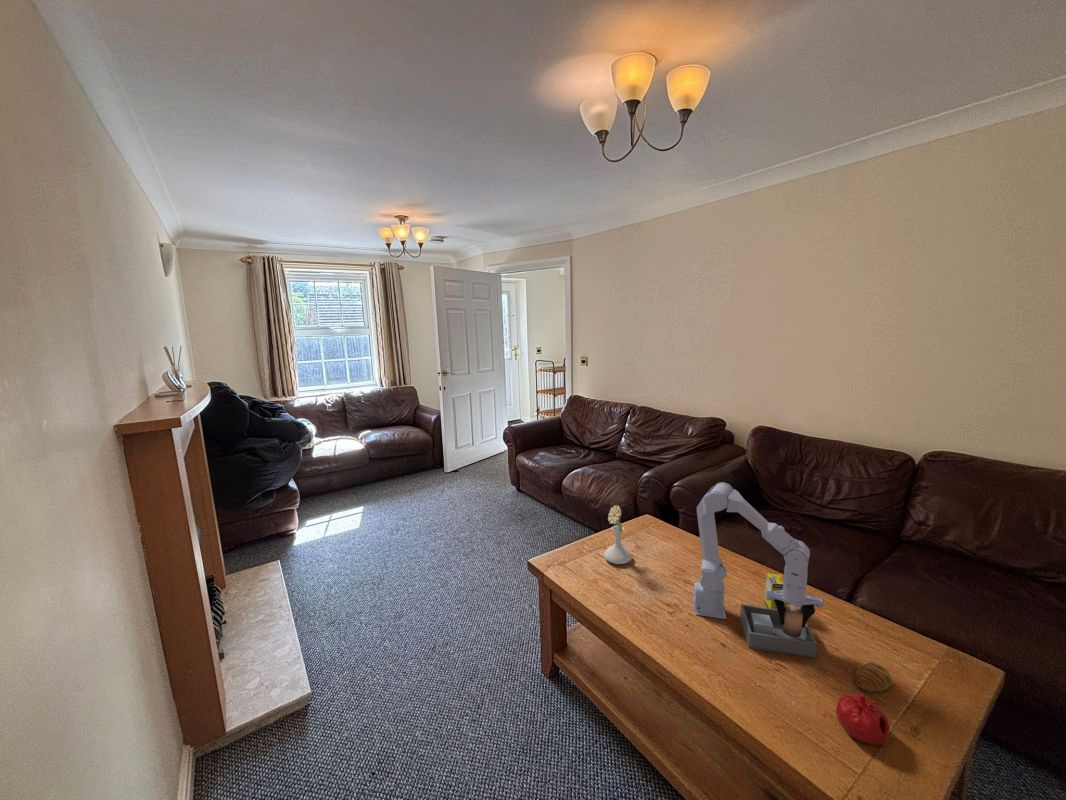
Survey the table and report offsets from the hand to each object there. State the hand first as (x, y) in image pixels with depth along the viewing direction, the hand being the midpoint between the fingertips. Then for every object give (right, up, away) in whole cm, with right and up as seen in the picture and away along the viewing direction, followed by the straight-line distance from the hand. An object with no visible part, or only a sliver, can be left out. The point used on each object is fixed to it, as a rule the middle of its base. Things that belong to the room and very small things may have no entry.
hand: (791, 623), depth 123 cm
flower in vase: (-43, +1, +46) cm, 63 cm away
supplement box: (+4, -3, +15) cm, 16 cm away
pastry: (+13, -8, -14) cm, 21 cm away
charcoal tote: (-4, -5, +2) cm, 7 cm away
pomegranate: (-1, -11, -27) cm, 29 cm away
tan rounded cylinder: (0, -2, 0) cm, 2 cm away
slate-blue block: (-8, -5, +3) cm, 9 cm away
